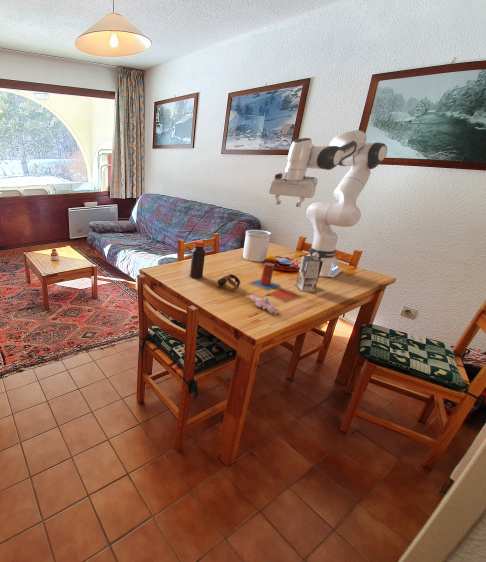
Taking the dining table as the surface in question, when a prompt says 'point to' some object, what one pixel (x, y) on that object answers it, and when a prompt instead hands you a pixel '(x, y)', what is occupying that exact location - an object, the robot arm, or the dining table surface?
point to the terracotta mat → (283, 295)
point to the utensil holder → (256, 245)
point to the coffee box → (309, 273)
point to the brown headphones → (229, 281)
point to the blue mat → (265, 286)
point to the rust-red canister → (267, 274)
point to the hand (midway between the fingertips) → (287, 205)
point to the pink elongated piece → (263, 304)
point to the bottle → (197, 260)
